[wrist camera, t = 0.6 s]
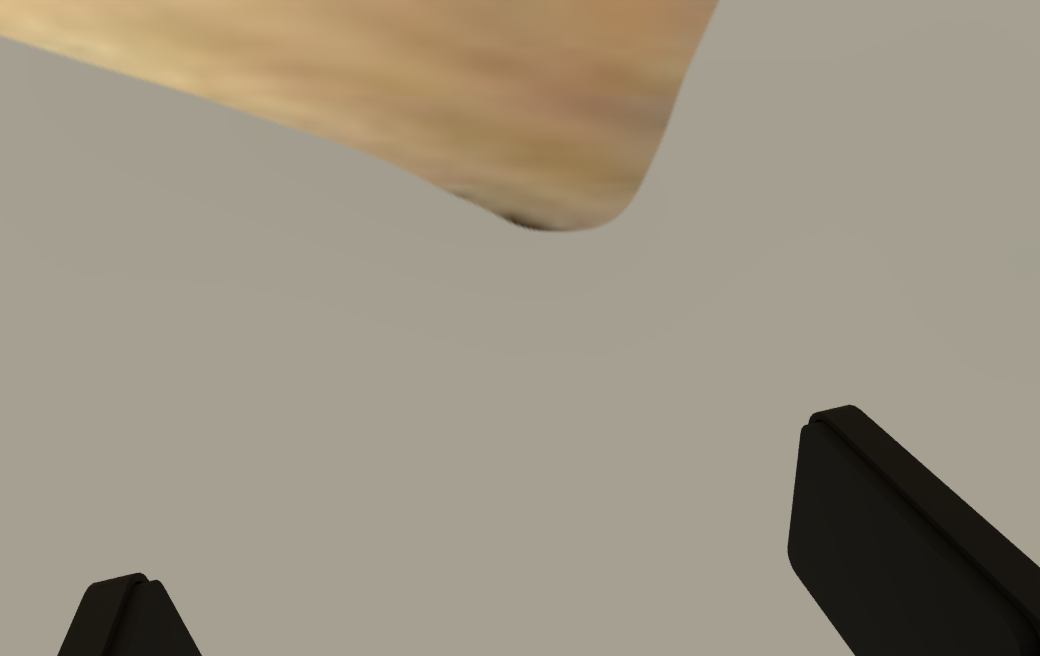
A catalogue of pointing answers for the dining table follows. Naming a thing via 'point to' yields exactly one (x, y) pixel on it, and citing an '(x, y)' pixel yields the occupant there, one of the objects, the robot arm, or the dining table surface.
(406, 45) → the dining table surface
